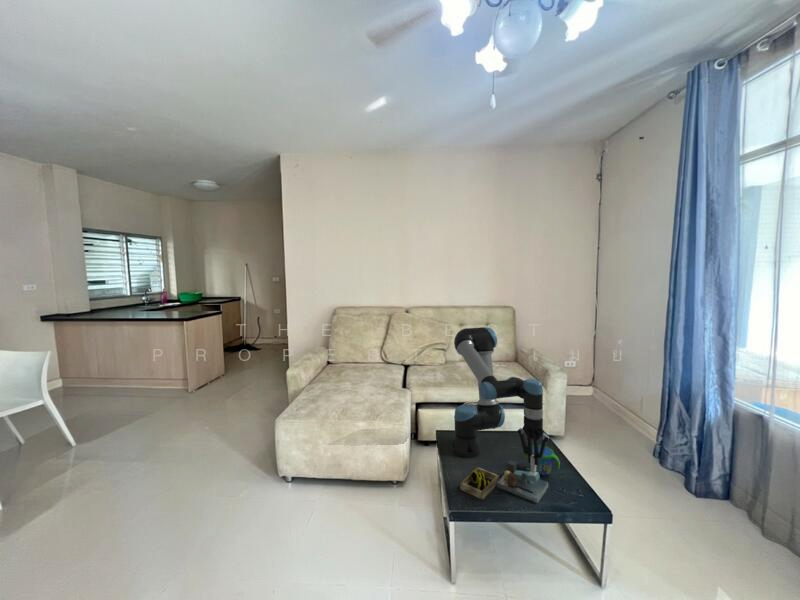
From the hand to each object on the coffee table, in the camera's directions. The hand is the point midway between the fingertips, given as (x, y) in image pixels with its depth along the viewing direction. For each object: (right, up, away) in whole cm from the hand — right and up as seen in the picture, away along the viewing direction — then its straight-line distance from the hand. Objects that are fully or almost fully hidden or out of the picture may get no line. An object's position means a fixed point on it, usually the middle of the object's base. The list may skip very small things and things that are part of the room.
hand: (533, 471), depth 139 cm
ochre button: (-9, -6, +5) cm, 12 cm away
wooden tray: (-22, -8, +3) cm, 24 cm away
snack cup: (+9, -7, +13) cm, 18 cm away
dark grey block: (-6, -5, +10) cm, 12 cm away
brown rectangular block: (-9, -6, 0) cm, 11 cm away
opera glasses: (-22, -8, +3) cm, 24 cm away
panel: (-4, -8, +2) cm, 9 cm away
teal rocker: (-2, -3, +2) cm, 5 cm away
